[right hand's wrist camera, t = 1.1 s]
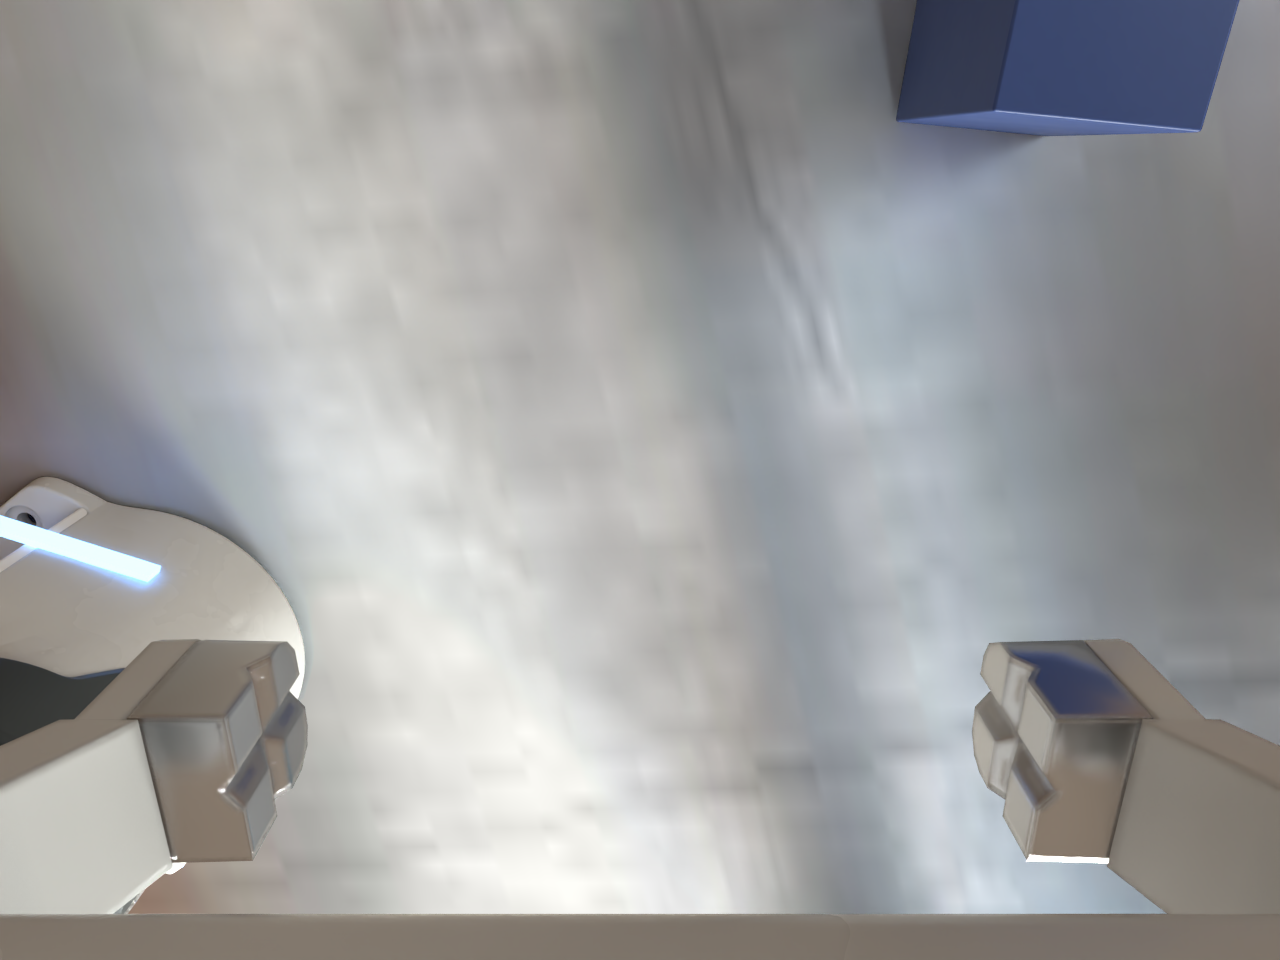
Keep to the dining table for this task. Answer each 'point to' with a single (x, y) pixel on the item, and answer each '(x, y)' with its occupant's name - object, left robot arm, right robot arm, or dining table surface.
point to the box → (1065, 65)
